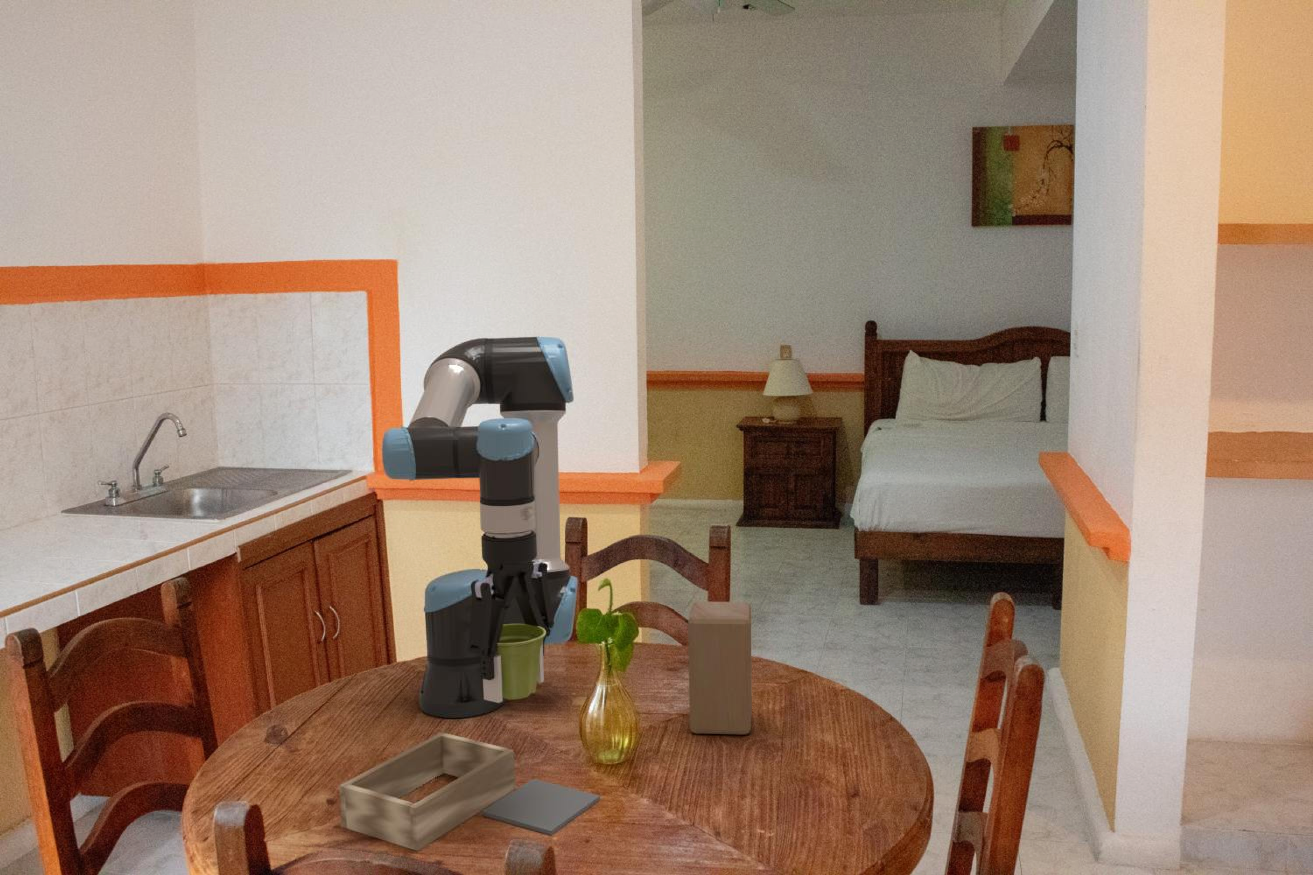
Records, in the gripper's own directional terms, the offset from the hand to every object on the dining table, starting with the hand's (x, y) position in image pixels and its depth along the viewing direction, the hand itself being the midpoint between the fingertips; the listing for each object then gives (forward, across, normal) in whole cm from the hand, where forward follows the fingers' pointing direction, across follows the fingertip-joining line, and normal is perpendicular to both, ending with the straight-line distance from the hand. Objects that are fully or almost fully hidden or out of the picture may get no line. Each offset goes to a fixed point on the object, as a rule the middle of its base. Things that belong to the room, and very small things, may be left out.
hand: (514, 689), depth 161 cm
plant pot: (+1, 0, 0) cm, 1 cm away
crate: (+18, -6, +11) cm, 22 cm away
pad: (+18, +2, -2) cm, 18 cm away
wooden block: (+18, +41, -10) cm, 46 cm away
